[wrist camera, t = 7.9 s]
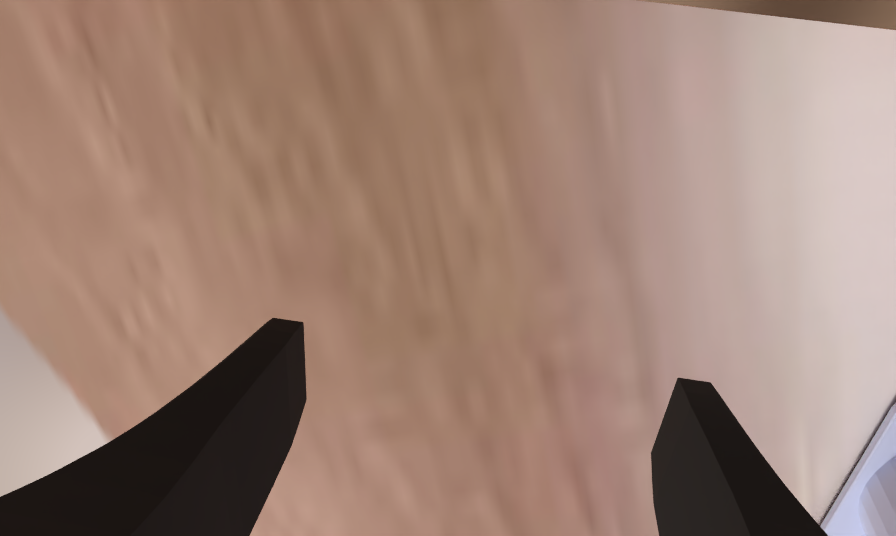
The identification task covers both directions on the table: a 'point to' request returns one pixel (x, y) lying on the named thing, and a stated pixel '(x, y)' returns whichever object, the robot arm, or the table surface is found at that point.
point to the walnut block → (809, 10)
